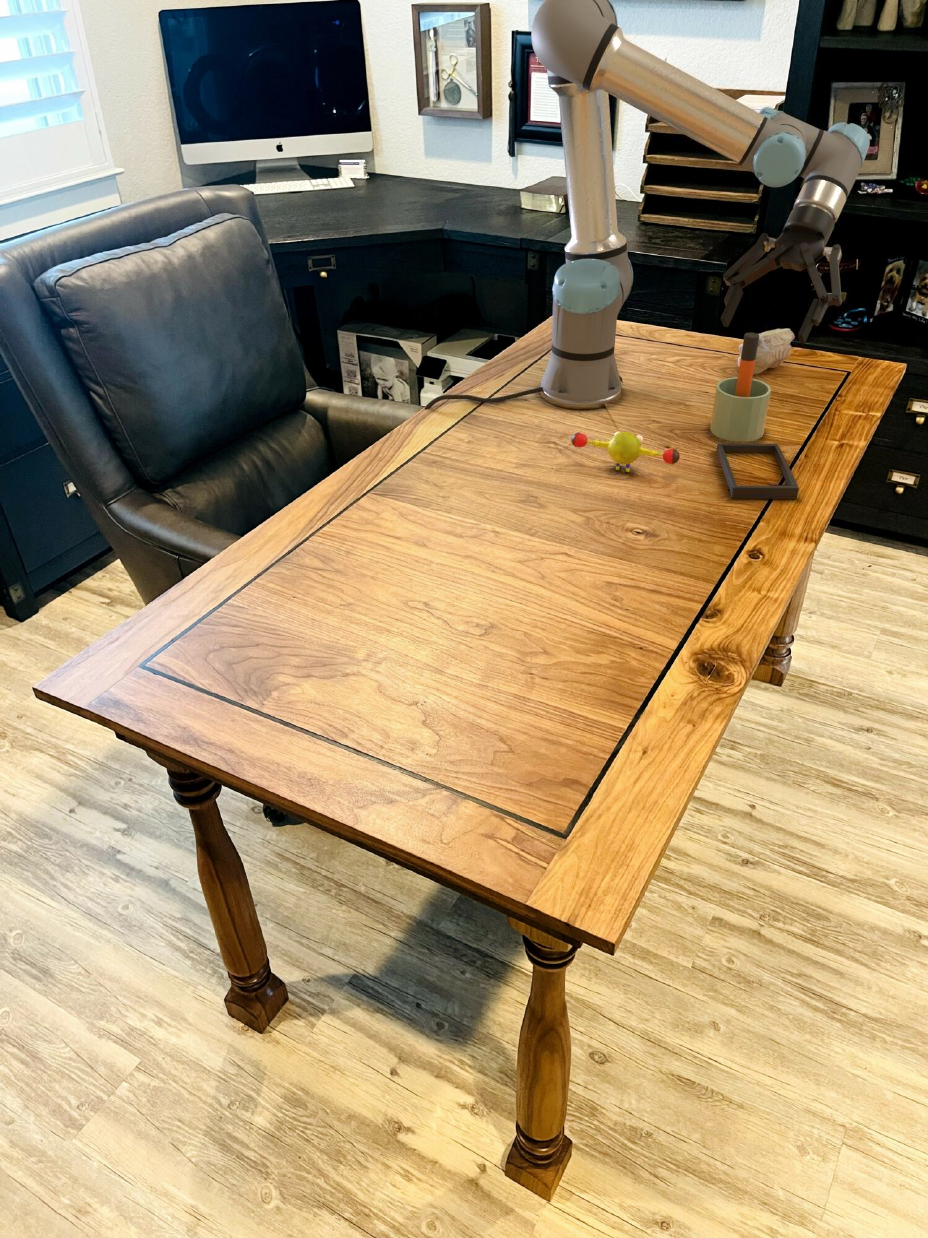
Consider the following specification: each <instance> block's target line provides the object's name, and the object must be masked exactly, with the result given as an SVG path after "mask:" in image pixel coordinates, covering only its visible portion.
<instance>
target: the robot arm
mask: <svg viewBox="0 0 928 1238" xmlns="http://www.w3.org/2000/svg"><path fill="white" fill-rule="evenodd" d="M618 23H619V22H618V17H617V11H616V8H615V6H614V4H613V2H612V1H611V0H544V2H543V3H542V4H541V5H540V6H539V8H538V9H537V11H536V13H535V15H534V18H533V21H532V24H531V34H530V35H531V36H530V37H531V45H532V49H533V51H534V54H535V56H536V57H537V59H538V61H539V62H540V63H539V64H541V65H542V66H543V67H544V68H545V69H546V73H547V74H546V75H547V84H548V87H549V88H550V90H552V91H553V92H554V93H555V94H556V95H557V97H558V106H559V115H560V117H559V118H560V126H561V137H562V148H563V149H562V150H563V158H564V159H563V161H564V169H565V181H566V190H567V201H568V202H567V203H568V212H569V220H570V221H569V222H570V224H569V225H570V233H571V238H570V240H569V241H568V243H566V245H565V246H564V256H565V258H564V259H565V263H564V264H563V265H561V266H560V267H559V268H558V269H557V270H556V272H555V275H554V279H553V285H552V324H551V325H552V326H551V327H552V328H551V353H550V355H549V359H548V361H547V363H546V367H545V370H544V372H543V375H542V378H541V382H540V386H539V387H536V388H532V389H527V390H523V391H519V392H515V393H511V394H506V395H501V396H497V397H490V398H487V397H479V396H475V395H472V394H443V395H438V396H436V397H435V398H433V399H432V400H431V401H429V402H428V403H427V404H426V405H425V407H424V408H423V409H424V410H426V411H427V410H430V409H431V408H432V407H433V406H434V405H435V404H437V403H439V402H441V401H446V400H469V401H474V402H478V403H483V404H492V403H499V402H505V401H509V400H513V399H517V398H520V397H526V396H528V395H533V394H537V393H540V396H541V398H542V399H543V400H545V401H546V402H548V403H550V404H552V405H554V406H558V407H561V408H565V409H572V410H573V409H574V410H593V409H600V408H605V407H606V405H609V404H611V403H614V402H615V401H617V400H618V399H619V398H620V397H621V394H622V384H624V381H623V377H622V376H621V375H620V373H619V369H618V365H617V362H616V361H617V360H616V357H615V346H616V345H615V344H616V337H617V335H616V334H617V322H618V316H619V313H620V311H621V309H622V307H623V305H624V303H625V301H626V300H627V299H628V297H629V295H630V293H631V291H632V287H633V282H634V271H633V270H634V269H633V266H632V263H631V260H630V258H629V256H628V254H629V252H628V241H627V237H625V236H624V235H623V234H622V233H621V232H620V231H619V229H618V227H619V226H618V215H617V213H618V212H617V201H616V185H615V184H616V183H615V170H614V157H613V156H614V155H613V143H612V141H613V139H612V126H611V112H610V99H609V98H610V96H609V95H611V96H613V97H614V98H616V99H618V100H620V101H622V102H624V103H626V104H627V105H629V106H631V107H633V108H635V109H636V110H638V111H640V112H642V113H644V114H646V115H648V116H650V117H652V118H653V119H655V120H657V121H659V122H660V123H662V124H664V125H666V126H668V127H670V128H672V129H673V130H676V131H677V132H679V133H681V134H683V135H685V136H686V137H688V138H690V139H692V140H694V141H695V142H698V143H699V144H701V145H703V146H705V147H707V148H708V149H710V150H712V151H714V152H716V153H717V154H720V155H721V156H723V157H725V158H727V159H728V160H731V161H733V163H736V164H738V165H739V166H741V167H742V168H744V169H746V170H747V171H750V172H752V173H753V174H754V175H755V177H756V178H757V179H758V181H759V182H760V183H762V184H763V185H765V186H767V187H769V188H781V187H784V186H787V185H788V184H790V183H792V182H793V181H794V180H795V179H796V178H797V177H799V178H800V177H801V178H803V179H805V180H804V183H803V185H802V188H801V190H800V192H799V193H798V196H797V198H796V199H795V202H794V204H793V207H792V210H791V212H790V213H789V215H788V218H787V220H786V222H785V224H784V226H783V229H782V232H781V234H780V235H779V236H778V237H777V238H774V237H769V235H768V233H766V232H763V233H761V234H760V236H759V238H758V239H757V241H756V243H754V245H753V246H752V247H750V249H748V251H747V252H745V253H744V254H743V255H742V256H741V257H740V258H739V259H738V260H736V261H735V263H734V264H732V265H731V266H730V267H729V268H728V269H727V270H726V271H725V272H724V273H723V275H722V278H723V280H724V283H725V285H726V286H727V287H728V289H727V291H726V294H725V296H724V298H723V303H724V306H725V307H724V309H723V311H722V314H721V316H720V318H719V319H720V320H721V324H722V326H723V327H725V328H728V327H729V325H730V323H731V321H732V319H733V317H734V315H735V313H736V310H737V308H738V306H739V304H740V302H741V299H742V297H743V295H744V291H743V289H745V287H747V286H748V285H750V284H752V283H753V282H755V281H756V280H758V279H760V278H762V277H763V276H765V275H767V274H768V273H769V272H771V271H776V270H777V269H780V268H781V267H782V269H785V270H794V271H797V272H802V271H804V270H807V274H808V276H809V278H810V279H811V280H810V281H811V282H812V285H813V287H814V290H815V292H816V295H817V297H818V298H813V301H812V303H811V304H810V307H809V309H808V311H807V313H806V316H805V318H804V320H803V322H802V324H801V327H800V329H799V331H798V334H797V336H798V340H799V343H800V344H806V341H807V340H808V338H809V335H810V333H811V330H812V328H813V326H814V324H815V325H819V324H820V323H821V322H822V320H823V317H824V316H825V313H826V311H827V309H828V308H829V307H831V306H835V307H840V306H841V305H842V303H843V297H842V289H841V288H842V286H841V276H840V262H841V259H842V256H843V253H842V248H841V245H840V244H837V243H836V244H834V245H833V246H831V247H830V246H826V245H827V243H828V241H829V239H830V237H831V234H832V233H833V231H834V228H835V224H836V223H837V221H838V219H839V217H840V215H841V213H842V211H843V208H844V206H845V204H846V202H847V199H848V197H849V195H850V193H851V191H852V189H853V186H854V184H855V182H856V180H857V177H858V175H859V173H860V171H861V170H862V167H863V166H864V161H865V159H866V156H867V153H868V151H869V147H870V144H871V143H870V142H871V141H870V140H871V139H870V136H869V134H868V132H866V130H865V129H864V128H863V127H862V126H860V125H858V124H855V123H854V122H853V123H852V122H851V123H846V122H845V121H844V122H842V121H841V122H837V123H835V124H833V125H832V126H831V127H829V129H828V130H823V129H820V128H819V127H818V128H817V127H815V126H813V125H811V124H809V123H807V122H804V121H802V120H800V119H798V118H795V117H794V116H791V115H789V114H787V113H785V112H784V111H783V110H778V109H775V108H772V107H769V106H764V107H762V108H761V109H760V110H759V112H758V111H756V110H754V109H753V108H751V107H749V106H748V105H746V104H744V103H742V102H740V101H738V100H737V99H734V98H733V97H731V96H729V95H727V94H726V93H723V92H722V91H720V90H718V89H716V88H715V87H713V86H712V85H709V84H707V83H705V82H704V81H701V80H700V79H698V78H697V77H695V76H693V75H691V74H689V73H687V72H686V71H683V70H681V68H678V67H676V66H675V65H673V64H671V63H669V62H667V61H665V60H664V59H662V58H661V57H658V56H656V55H654V54H653V53H651V52H649V51H648V50H646V49H643V48H642V47H640V46H638V45H637V44H634V43H633V42H631V41H629V40H627V39H626V38H625V37H624V33H623V29H622V28H621V27H619V26H618V25H619V24H618ZM773 248H774V250H772V251H771V252H770V250H771V249H773ZM766 253H768V254H767V255H766V257H764V258H762V257H763V256H764V255H765V254H766ZM823 257H826V261H827V262H829V271H830V272H829V273H830V283H831V293H830V294H828V292H827V290H826V287H825V285H824V282H823V280H822V278H821V275H820V272H819V270H818V268H817V265H816V262H818V261H819V260H820V259H822V258H823ZM761 258H762V259H761ZM760 259H761V260H760Z"/></svg>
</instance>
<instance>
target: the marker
mask: <svg viewBox="0 0 928 1238" xmlns="http://www.w3.org/2000/svg"><path fill="white" fill-rule="evenodd" d="M759 334H760V333H756V332H746V333H744V335H743V341H742V343H743V347H742V354H741V360H740V366H738V372H737V373H738V374H737V377H738V379H737V386H736V392H735V396H738V397H749V396H750V390H751V384H752V379H754V378H753V377H754V374H753V372H754V366H755V360H756V354H757V348H758V342H759Z"/></svg>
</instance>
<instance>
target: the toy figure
mask: <svg viewBox="0 0 928 1238" xmlns="http://www.w3.org/2000/svg"><path fill="white" fill-rule="evenodd" d="M570 441H571V444H572V446H574V447H575V448H584V447H586V445H587V444H591V445H592V446H593V447H595V448H600V449H604V450H606V451H607V452H608V455H609V457H610V458H611V460H612V461H613V462H615V463H616V465H615V466H616V467H615V469H614V471H615V472H621V470H622V469H623V468H622V467H623V466H625V471H624V473H626V474H630V472H631V464H633V463H634V462H635V461H637V460H638V458H639V457H642V456H646V457H650V458H655V457H662V460H663V462H665V463H666V464H668V465H675V464H677V463H678V462H679V461H680V457H681V456H680V452H679V451H678V450H677V449H675V448H673V449H672V448H670V449H669V448H668V449H666V450H664V451H663V453H662V452H657V451H656V450H654V449H649V448H645V447H644V446H642V444H641V443H643V441H644V437H643V436H642V435H641V434H638V435H636V434H635V433H632V432H629V431H616V432H615V433H614V435H613V436H612V438H611V439H610V440H608V441H607V440H606V441H602V440H598V439H595V440H589V439H588V437H587V435H586V434H585V433H581V432H576V433H574V434H573V435H572V436H571V439H570ZM621 465H623V466H621Z"/></svg>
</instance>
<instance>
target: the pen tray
mask: <svg viewBox="0 0 928 1238" xmlns="http://www.w3.org/2000/svg"><path fill="white" fill-rule="evenodd" d="M716 454H717V457H718V461H719V463H720V465H721V468H722V472H723V474H724V477H725V480H726V483H727V486H728V489H727V490H728V493H729V496H730V498H731V499H732V500H798V494H799V490H800V488H799V485H798V483H797V481H796V479H795V477H794V475H793V473H792V471H791V468H790V466H789V464H788V463H787V459H786V458H785V456H784V454H783V451H782V450H781V447H780V445H779V443H717V445H716ZM726 454H773V456H774V458H775V460H776V463H777V465H778V467H779V469H780V472H781V474H782V476H783V478H784V480H785V483H786V484H774V485H737V481H736V479H735V476H734V474H733V471H732V468H731V466H730V463H729V460H728V457H727V455H726Z"/></svg>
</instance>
